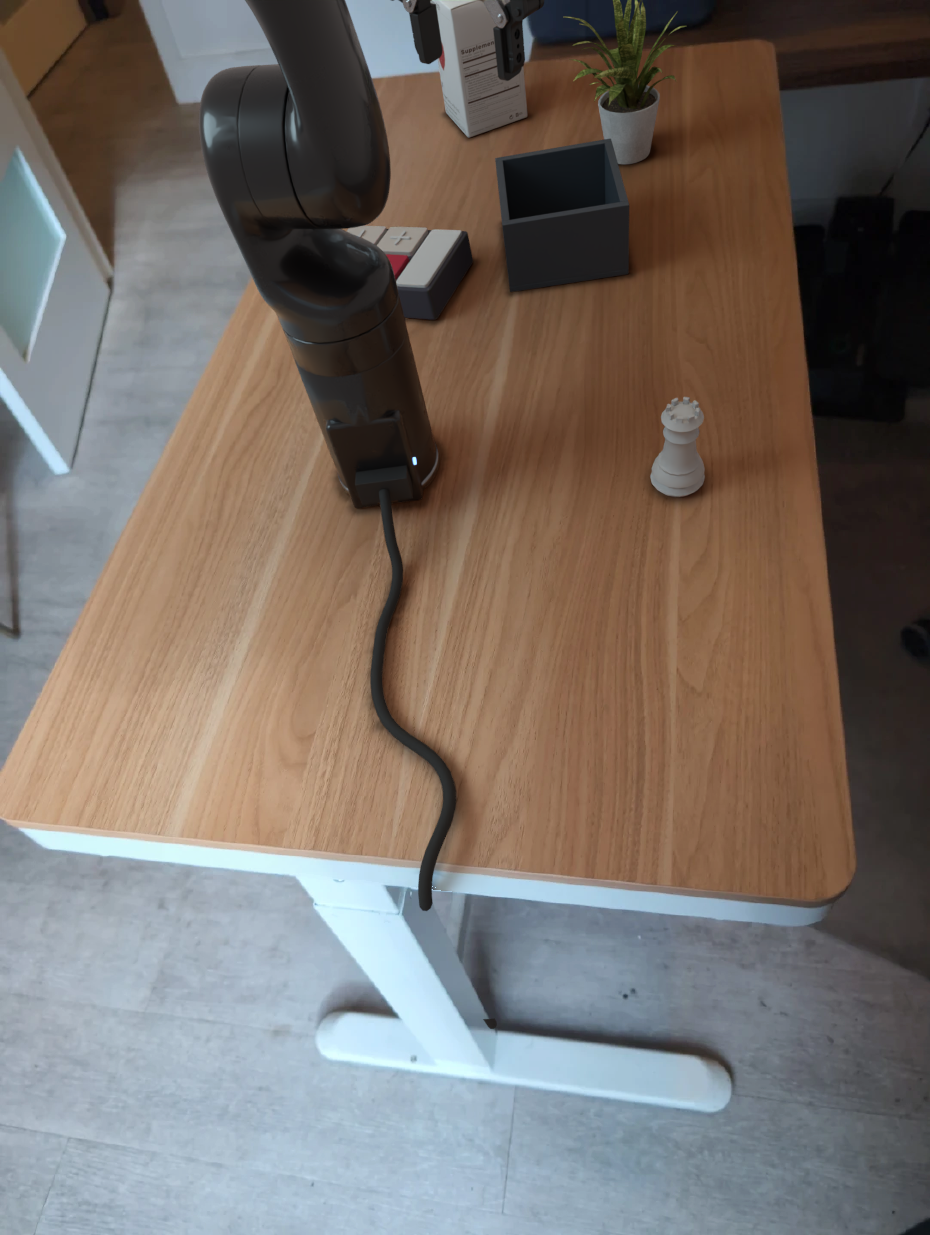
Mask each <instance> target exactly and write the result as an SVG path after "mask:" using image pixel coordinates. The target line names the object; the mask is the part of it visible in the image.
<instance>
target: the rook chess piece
mask: <svg viewBox="0 0 930 1235" xmlns="http://www.w3.org/2000/svg"><path fill="white" fill-rule="evenodd" d="M670 402H671V403H667V404H666V407H665V409H664V410H663V411H662V412H661V416H660V420H661V424H662V425H663V426H664V427H663V430H662V434H663V437H664V443H663V447H662V449H661V451H660V452H659V453H658V455H657V456H656V457H655V458H654V461H653V463H652V467H651V473H650V476H649V477H650V481H651V484H652V485H653V487H654V488H655V489H656V490H657V491H658V492H659V493H661V494H663V495H665V496H668V497H672V498H682V497H688V496H689V495H691V494H694V493H696V492H697V491H698V490H699V489H700V488H701V487H702V486H703V485H704V481H705V479H706V476H705V470H706V469H705V465H704V461H703V458H701V456H700V453H698V452H699V451H698V448H697V439H698V438H699V435H700V428H699V427H700V426H701V425H702V424H703V423H704V419H705V416H704V415H705V414H704V412H703V411H702V409H701V407H699V406H700V403H699V402H698V401H697V400H696V399H695V400H693V401H692V402H691V397H688V396H683V398H682V401H679V397H675V398H673V399H671V401H670Z"/></svg>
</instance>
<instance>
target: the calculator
mask: <svg viewBox="0 0 930 1235" xmlns="http://www.w3.org/2000/svg"><path fill="white" fill-rule="evenodd" d="M346 231H347V232H349V233H351V234H354V235H356V236H358V237H361V238H363V239H366V240H368V241H370V242H371V243H373V244H375V245H376V246H378V247H379V248H380V249H381V250H382V251H383V252H384V253H385V254H386V256H387V257H388V259H389V261H390V263H391V265H392V268H393V271H394V275H395V279H396V284H397V288H398V292H399V296H400V301H401V305H402V309H403V313H404V317H405V319H418V320H429V321H430V320H431V321H434V320H437V319H438V318H439V317H440V315H441V314H442V312H443V311H444V309H445V307H446V306H447V304H448V303H449V301H450V299H451V298H452V296H453V295H454V293H455V291H456V290H457V288H458V287H459V285H460V283H462V280H463V279H464V277H465V276H466V274H467V273H468V271H469V268H471V266H472V264H473V263H474V257H473V252H472V247H471V244H470V243H471V242H470V238H469V233H468V231H467V230H461V229H440V228H439V229H435V228H434V229H428V228H427V227H424V226H423V227H421V226H418V227H417V226H391V227H389V228H387V227H386V226H384V225H364V226H360V227H355V228H348V229H346Z"/></svg>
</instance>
